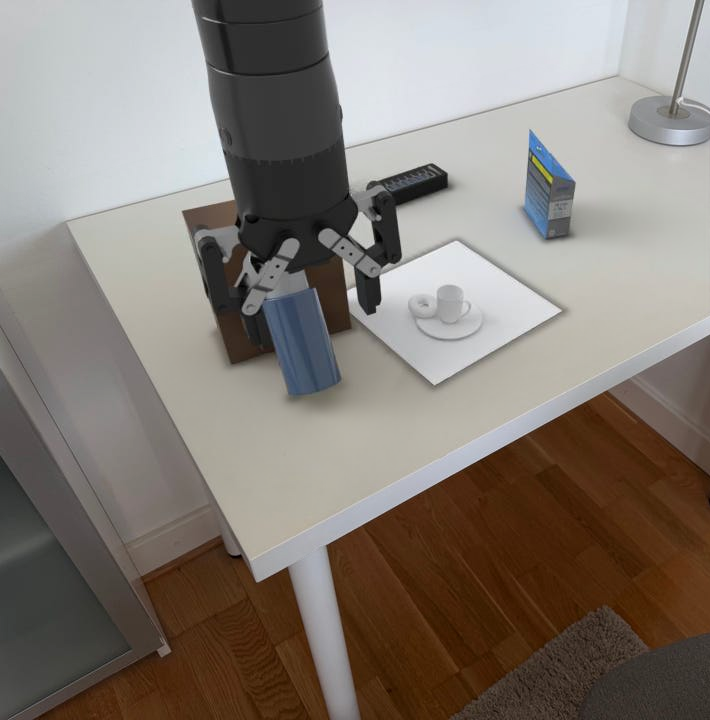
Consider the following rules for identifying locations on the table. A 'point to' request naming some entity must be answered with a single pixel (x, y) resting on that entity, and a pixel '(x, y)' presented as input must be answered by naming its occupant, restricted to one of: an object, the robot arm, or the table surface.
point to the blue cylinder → (300, 336)
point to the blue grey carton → (548, 191)
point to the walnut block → (231, 327)
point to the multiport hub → (415, 183)
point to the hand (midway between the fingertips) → (316, 325)
